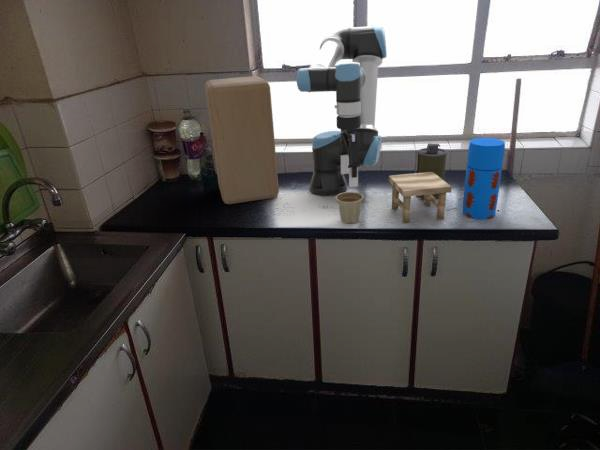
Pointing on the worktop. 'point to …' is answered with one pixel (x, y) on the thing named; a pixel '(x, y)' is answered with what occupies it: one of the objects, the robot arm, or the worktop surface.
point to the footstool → (418, 192)
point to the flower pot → (349, 206)
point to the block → (243, 138)
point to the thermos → (483, 177)
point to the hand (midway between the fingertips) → (349, 179)
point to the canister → (431, 162)
